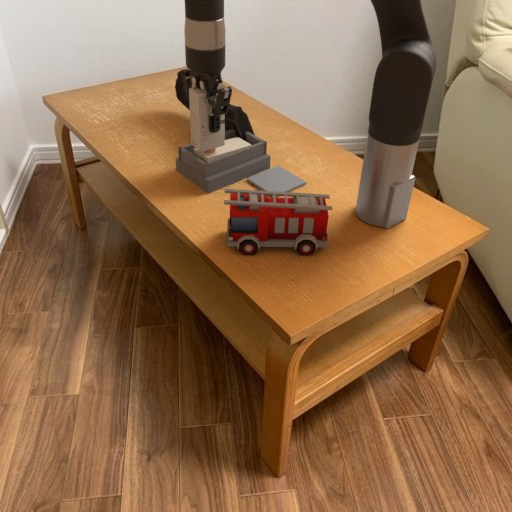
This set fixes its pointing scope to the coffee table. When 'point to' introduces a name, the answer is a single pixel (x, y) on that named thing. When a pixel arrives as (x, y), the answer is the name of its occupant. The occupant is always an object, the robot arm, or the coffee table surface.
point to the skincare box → (203, 123)
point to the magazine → (232, 119)
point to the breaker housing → (224, 164)
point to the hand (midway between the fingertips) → (206, 126)
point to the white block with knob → (222, 149)
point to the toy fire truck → (276, 221)
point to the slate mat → (276, 180)
